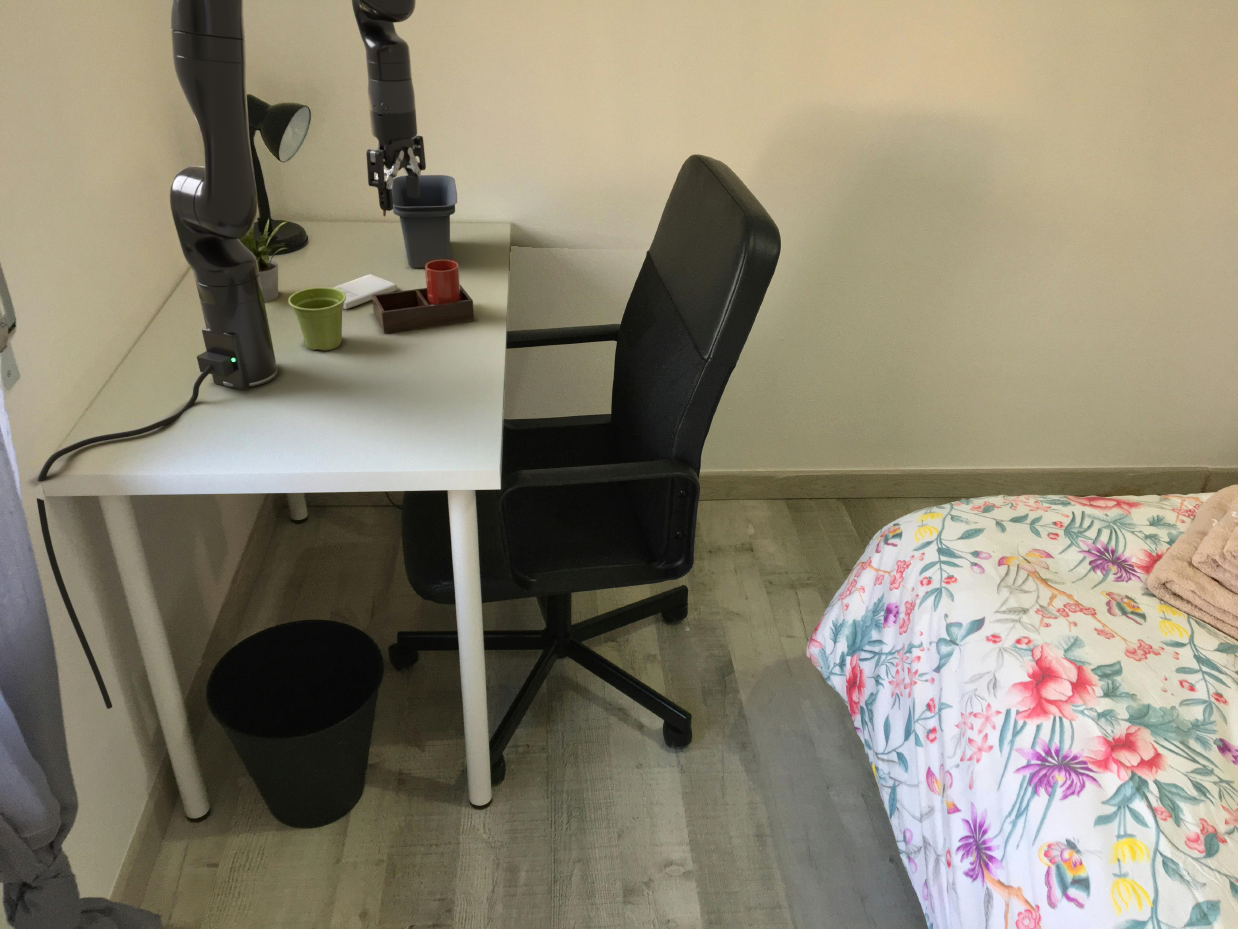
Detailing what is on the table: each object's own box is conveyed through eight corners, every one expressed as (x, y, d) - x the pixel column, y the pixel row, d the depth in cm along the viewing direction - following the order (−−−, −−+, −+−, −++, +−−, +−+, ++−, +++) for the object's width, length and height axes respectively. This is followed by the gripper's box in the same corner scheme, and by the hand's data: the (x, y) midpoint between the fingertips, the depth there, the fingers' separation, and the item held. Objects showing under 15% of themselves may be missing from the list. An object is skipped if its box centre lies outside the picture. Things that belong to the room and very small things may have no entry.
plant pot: (362, 344, 160) (356, 298, 155) (314, 360, 154) (307, 313, 149) (333, 328, 165) (326, 282, 160) (285, 343, 159) (277, 296, 154)
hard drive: (397, 291, 180) (346, 310, 172) (369, 281, 184) (319, 298, 176) (396, 283, 179) (345, 302, 171) (369, 273, 183) (318, 290, 175)
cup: (451, 319, 168) (448, 273, 163) (422, 314, 170) (419, 268, 165) (466, 307, 173) (464, 262, 168) (439, 302, 175) (435, 257, 170)
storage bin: (462, 271, 190) (458, 204, 183) (386, 274, 188) (379, 205, 180) (458, 237, 208) (454, 174, 200) (388, 239, 205) (382, 175, 197)
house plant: (201, 304, 171) (182, 219, 162) (245, 278, 183) (229, 198, 174) (268, 315, 168) (252, 229, 160) (309, 288, 180) (296, 207, 171)
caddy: (474, 320, 170) (472, 300, 168) (384, 333, 164) (381, 312, 162) (460, 303, 177) (459, 283, 174) (374, 315, 170) (371, 294, 168)
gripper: (396, 96, 158) (404, 190, 166) (347, 111, 146) (358, 210, 155) (434, 101, 156) (440, 196, 164) (387, 116, 144) (396, 217, 153)
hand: (400, 203), depth 160 cm, fingers open, 8 cm apart
